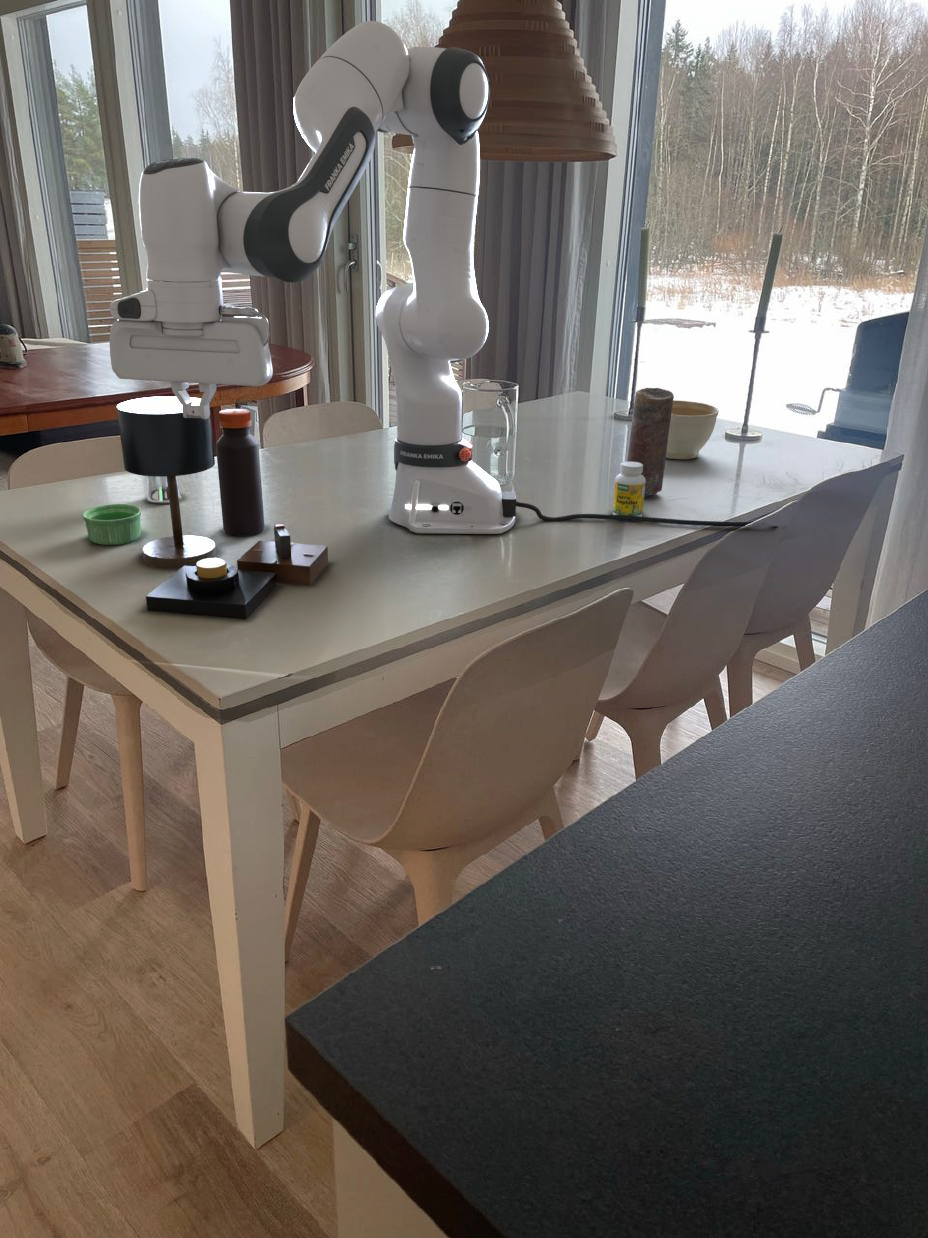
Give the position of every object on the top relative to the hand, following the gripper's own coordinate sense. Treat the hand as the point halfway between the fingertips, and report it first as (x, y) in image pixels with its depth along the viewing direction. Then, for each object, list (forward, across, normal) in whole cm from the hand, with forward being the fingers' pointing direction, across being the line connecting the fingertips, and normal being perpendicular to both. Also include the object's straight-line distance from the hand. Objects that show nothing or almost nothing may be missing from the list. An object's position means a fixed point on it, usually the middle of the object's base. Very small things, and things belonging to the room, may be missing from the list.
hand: (196, 417), depth 120 cm
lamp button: (+22, 0, 0) cm, 22 cm away
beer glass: (+25, +28, -43) cm, 57 cm away
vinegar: (+25, +7, -29) cm, 39 cm away
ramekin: (+26, +26, -21) cm, 42 cm away
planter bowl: (+25, -68, -101) cm, 124 cm away
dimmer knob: (+22, -6, -12) cm, 26 cm away
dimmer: (+25, -6, -12) cm, 29 cm away
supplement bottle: (+25, -57, -52) cm, 81 cm away
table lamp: (+25, +12, -15) cm, 32 cm away
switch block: (+25, 0, 0) cm, 25 cm away
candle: (+25, -60, -67) cm, 94 cm away
